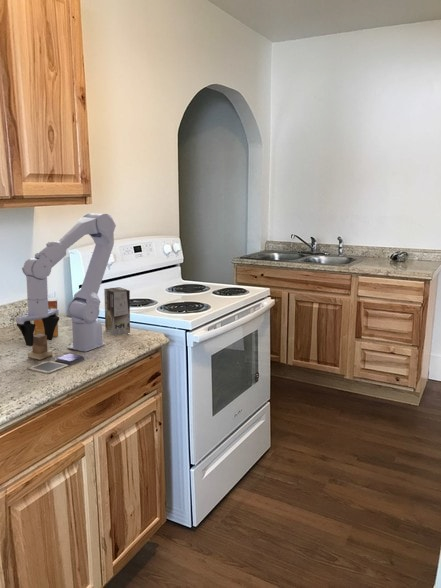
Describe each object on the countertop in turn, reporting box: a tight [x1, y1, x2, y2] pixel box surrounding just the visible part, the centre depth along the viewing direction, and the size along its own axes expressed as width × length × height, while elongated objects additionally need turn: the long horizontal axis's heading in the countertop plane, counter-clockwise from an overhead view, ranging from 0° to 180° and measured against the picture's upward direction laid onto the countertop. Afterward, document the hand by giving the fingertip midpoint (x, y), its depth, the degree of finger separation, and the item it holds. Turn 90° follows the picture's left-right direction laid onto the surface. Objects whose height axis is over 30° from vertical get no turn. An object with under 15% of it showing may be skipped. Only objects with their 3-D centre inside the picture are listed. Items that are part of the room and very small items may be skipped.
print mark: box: [27, 360, 70, 375], centre depth 142 cm, size 8×8×1 cm
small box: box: [33, 297, 59, 337], centre depth 176 cm, size 8×6×13 cm
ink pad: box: [54, 353, 86, 366], centre depth 148 cm, size 6×6×1 cm
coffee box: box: [103, 286, 131, 337], centre depth 181 cm, size 9×6×16 cm
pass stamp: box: [27, 334, 54, 362], centre depth 151 cm, size 5×5×7 cm
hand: (39, 342), depth 150 cm, fingers open, 7 cm apart
